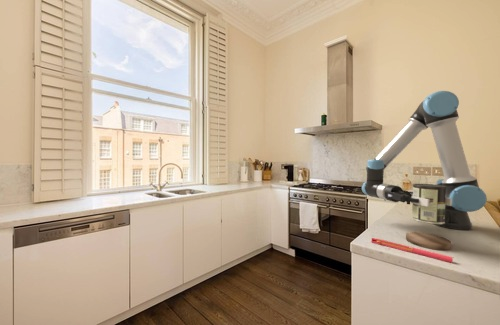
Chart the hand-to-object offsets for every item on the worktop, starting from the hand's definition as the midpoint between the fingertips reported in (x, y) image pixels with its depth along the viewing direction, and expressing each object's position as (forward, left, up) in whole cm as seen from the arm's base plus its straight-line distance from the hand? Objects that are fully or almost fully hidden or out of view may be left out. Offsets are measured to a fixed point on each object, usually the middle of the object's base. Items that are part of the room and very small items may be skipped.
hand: (439, 202), depth 83 cm
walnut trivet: (0, -4, -17) cm, 17 cm away
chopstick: (+14, +2, -17) cm, 23 cm away
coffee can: (+1, -4, -8) cm, 9 cm away
